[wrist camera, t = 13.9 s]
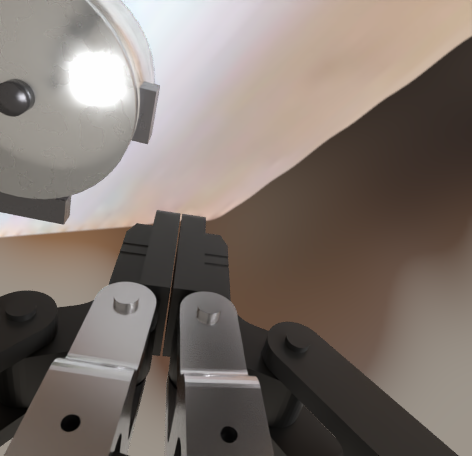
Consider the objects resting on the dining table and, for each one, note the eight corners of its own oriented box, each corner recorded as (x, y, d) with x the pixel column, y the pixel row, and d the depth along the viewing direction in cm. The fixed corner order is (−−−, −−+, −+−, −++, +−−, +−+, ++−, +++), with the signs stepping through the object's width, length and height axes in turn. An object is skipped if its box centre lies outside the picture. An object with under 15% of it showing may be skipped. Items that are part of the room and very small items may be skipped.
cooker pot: (188, -41, 41) (180, -54, 31) (145, 196, 54) (129, 245, 43) (-28, -111, 38) (-120, -152, 27) (-19, 161, 50) (-79, 204, 40)
